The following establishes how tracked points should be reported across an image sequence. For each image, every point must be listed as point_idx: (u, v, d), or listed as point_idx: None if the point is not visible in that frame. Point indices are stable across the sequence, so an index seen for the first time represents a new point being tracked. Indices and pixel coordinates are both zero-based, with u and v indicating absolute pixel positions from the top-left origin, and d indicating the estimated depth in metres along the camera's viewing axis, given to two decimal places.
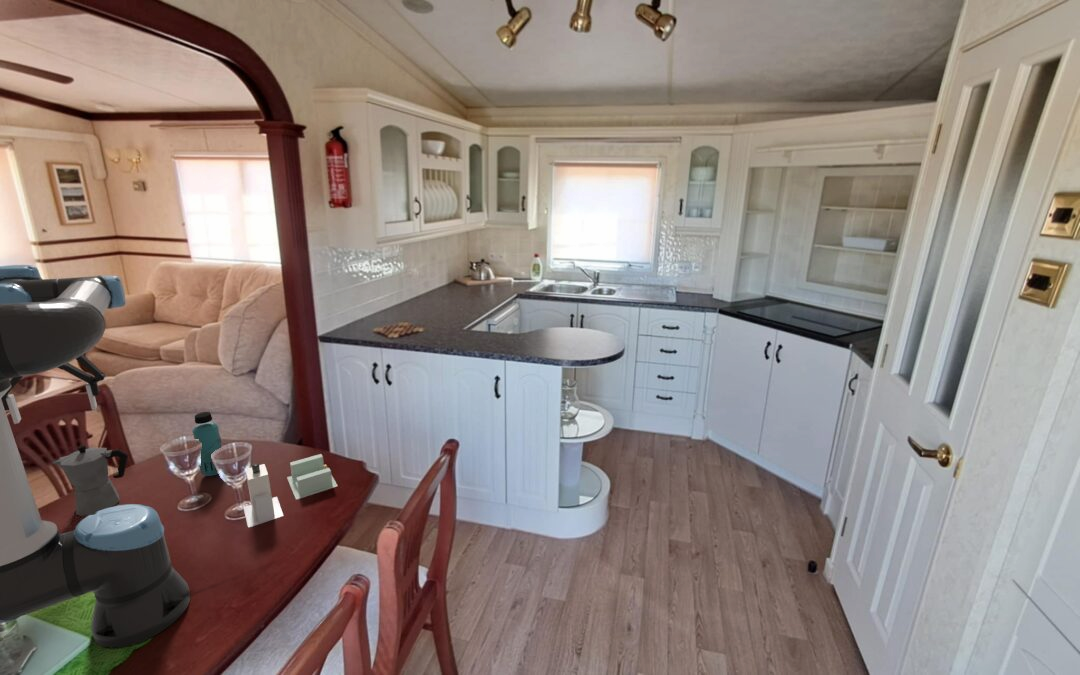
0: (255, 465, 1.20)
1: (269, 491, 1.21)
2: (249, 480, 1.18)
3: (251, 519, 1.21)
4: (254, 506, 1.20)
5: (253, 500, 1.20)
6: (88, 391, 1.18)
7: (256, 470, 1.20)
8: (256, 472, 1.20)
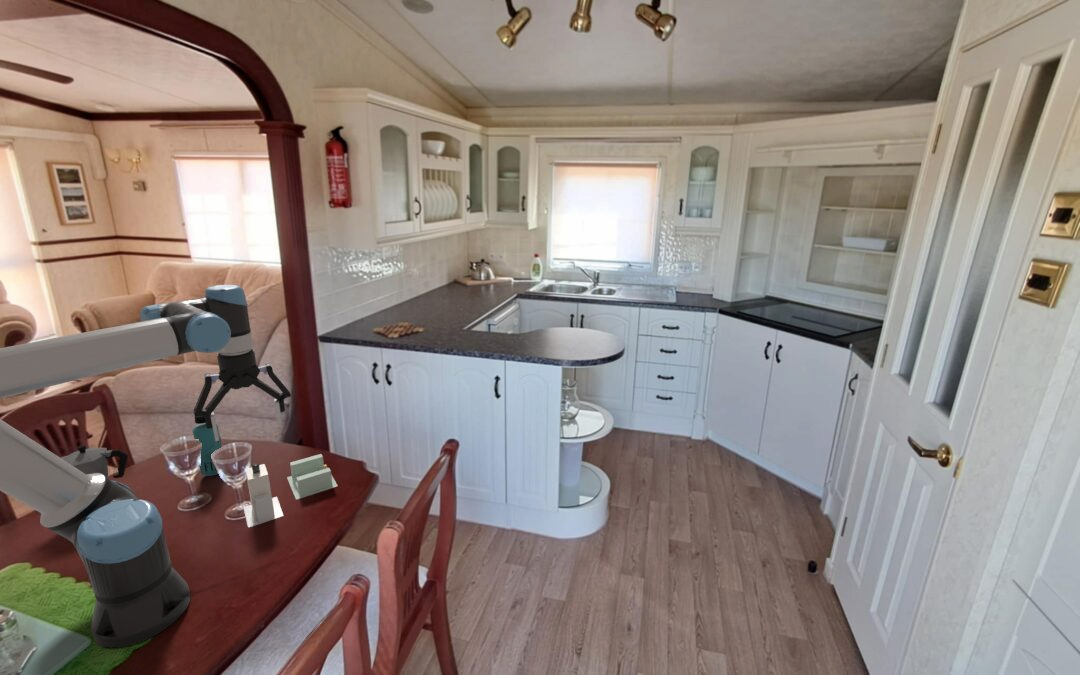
0: (255, 465, 1.20)
1: (269, 491, 1.21)
2: (249, 480, 1.18)
3: (251, 519, 1.21)
4: (254, 506, 1.20)
5: (253, 500, 1.20)
6: (277, 408, 1.19)
7: (256, 470, 1.20)
8: (256, 472, 1.20)
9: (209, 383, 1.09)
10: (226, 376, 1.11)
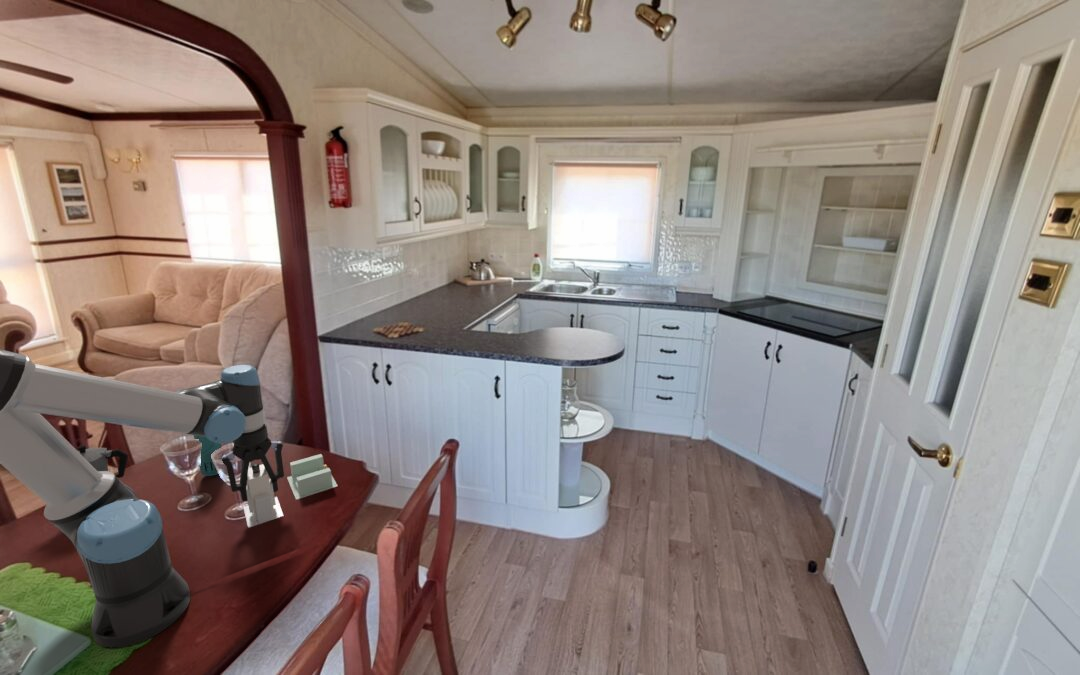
0: (255, 465, 1.20)
1: (269, 491, 1.21)
2: (249, 480, 1.18)
3: (251, 519, 1.21)
4: (254, 506, 1.20)
5: (253, 500, 1.20)
6: (271, 489, 1.23)
7: (256, 470, 1.20)
8: (256, 472, 1.20)
9: (228, 463, 1.15)
10: (239, 450, 1.16)
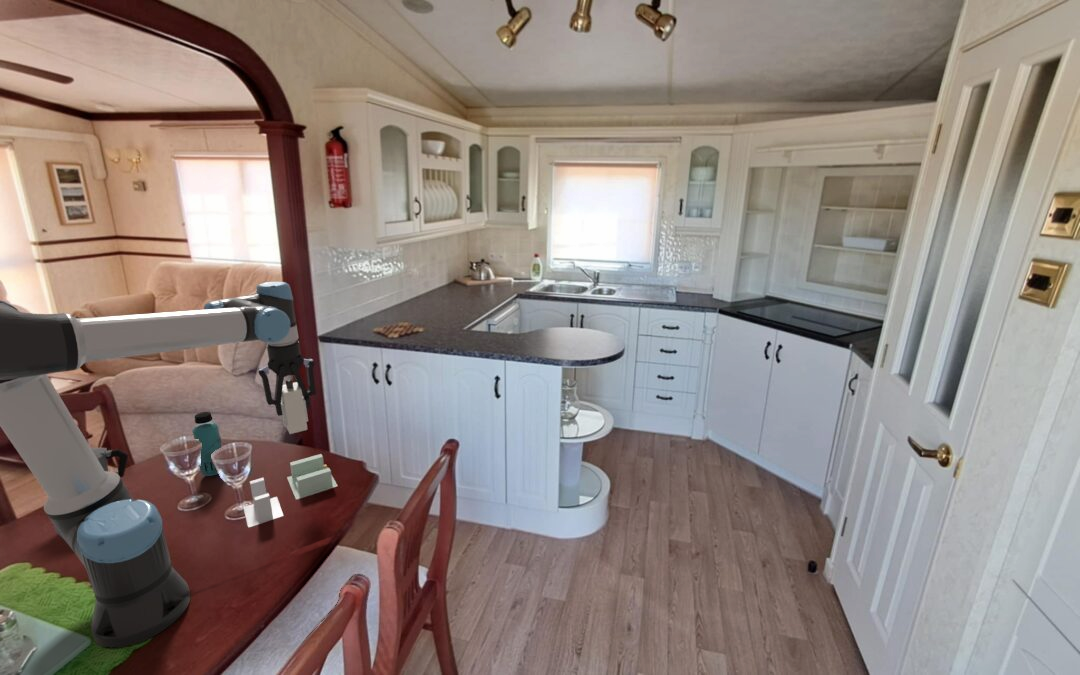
0: (289, 381, 1.25)
1: (302, 406, 1.27)
2: (284, 393, 1.23)
3: (251, 519, 1.21)
4: (289, 420, 1.25)
5: (288, 414, 1.25)
6: None
7: (290, 385, 1.25)
8: (290, 387, 1.26)
9: (264, 375, 1.21)
10: (274, 364, 1.22)
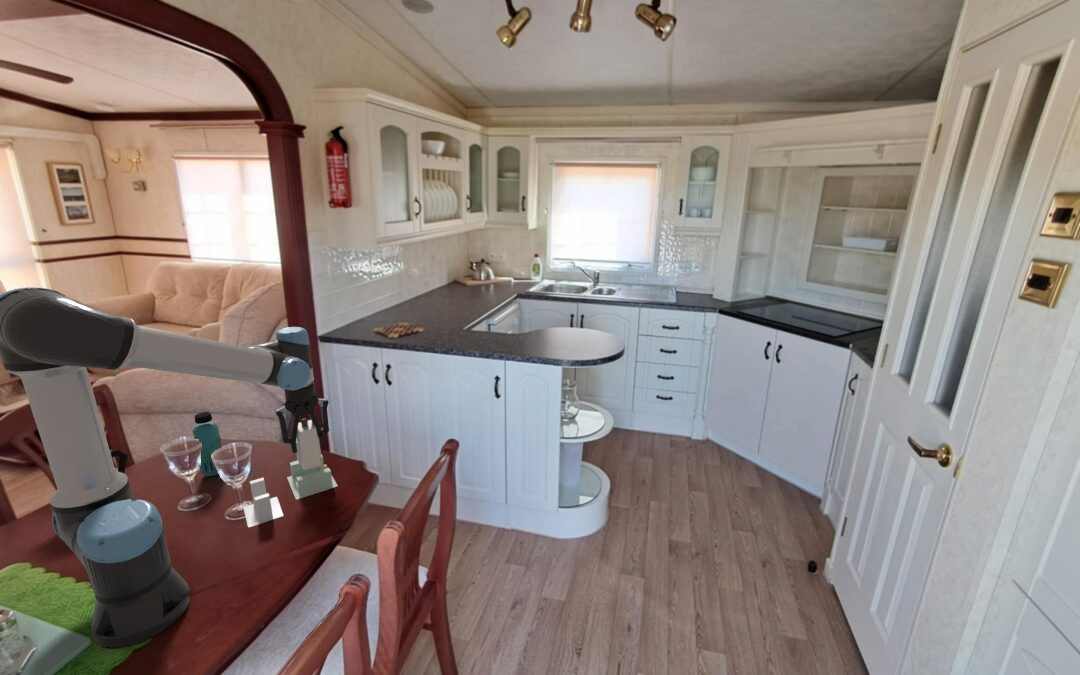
0: (304, 419, 1.32)
1: (316, 444, 1.33)
2: (299, 432, 1.29)
3: (251, 519, 1.21)
4: (303, 457, 1.32)
5: (302, 451, 1.31)
6: None
7: (305, 424, 1.32)
8: (305, 426, 1.32)
9: (281, 416, 1.27)
10: (291, 405, 1.28)
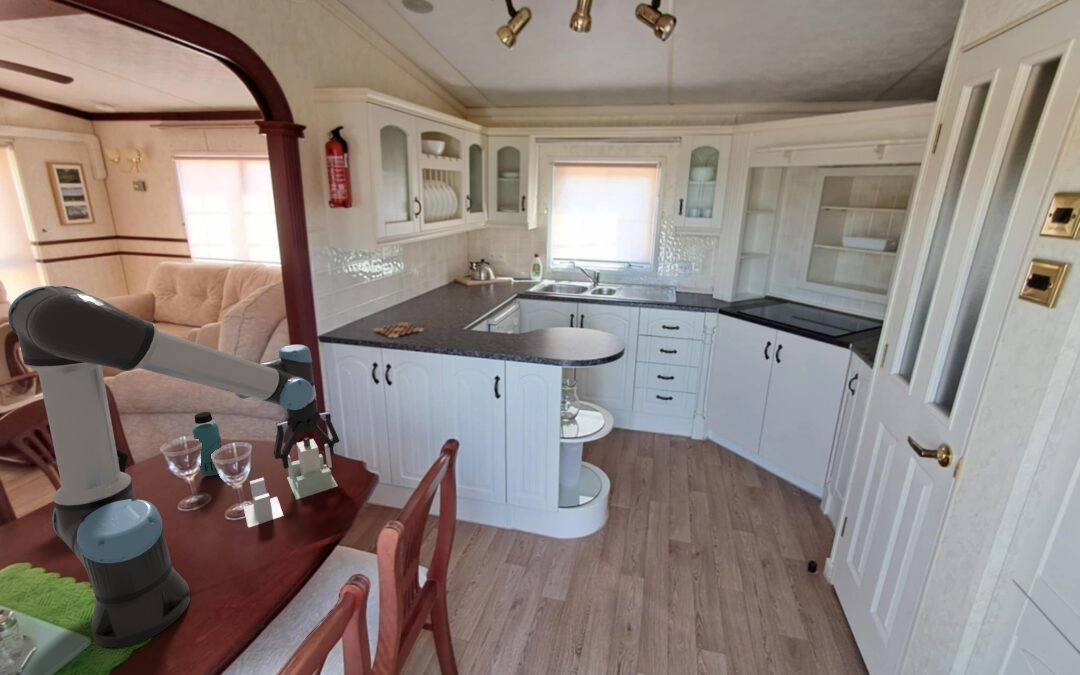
0: (306, 439, 1.33)
1: (318, 463, 1.35)
2: (302, 452, 1.31)
3: (251, 519, 1.21)
4: None
5: (305, 470, 1.33)
6: (328, 452, 1.37)
7: (307, 443, 1.33)
8: (307, 445, 1.34)
9: (281, 431, 1.28)
10: (293, 422, 1.29)
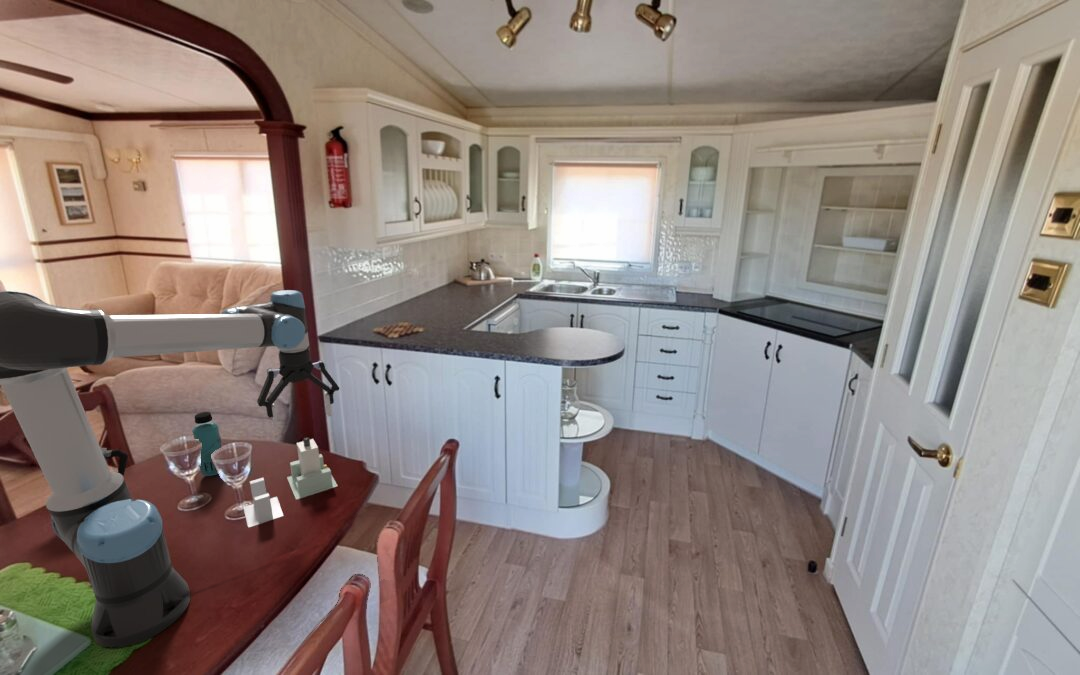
0: (306, 439, 1.33)
1: (318, 463, 1.35)
2: (302, 452, 1.31)
3: (251, 519, 1.21)
4: None
5: (305, 470, 1.33)
6: (327, 400, 1.33)
7: (307, 443, 1.33)
8: (307, 445, 1.34)
9: (271, 377, 1.23)
10: (286, 371, 1.25)
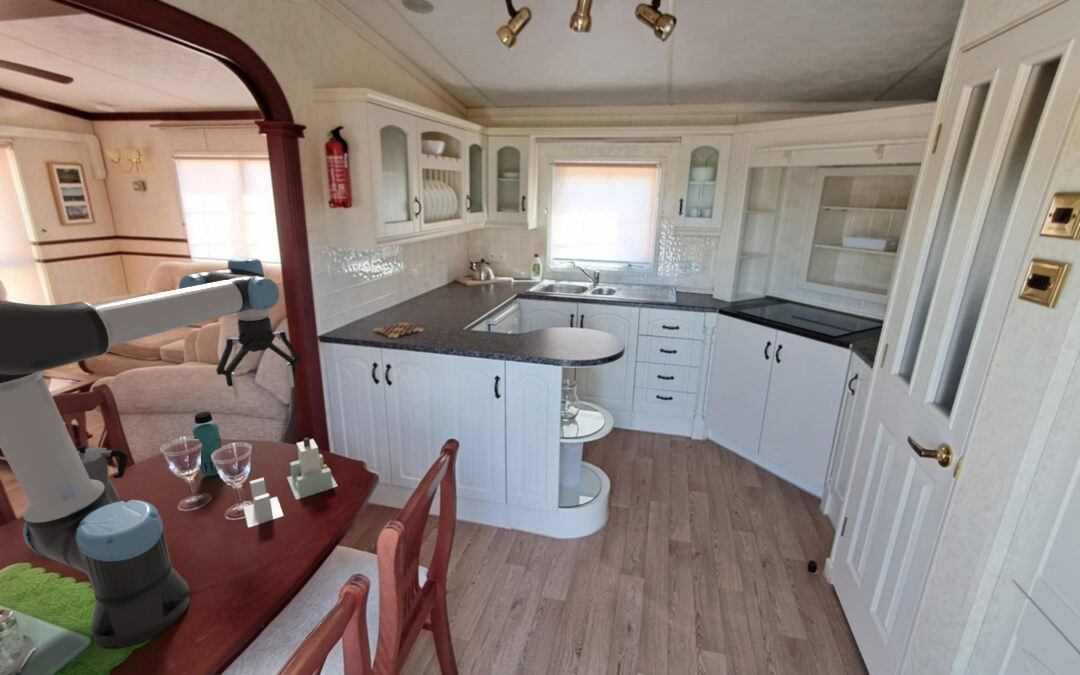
0: (306, 439, 1.33)
1: (318, 463, 1.35)
2: (302, 452, 1.31)
3: (251, 519, 1.21)
4: None
5: (305, 470, 1.33)
6: (290, 370, 1.33)
7: (307, 443, 1.33)
8: (307, 445, 1.34)
9: (230, 345, 1.23)
10: (245, 339, 1.24)
